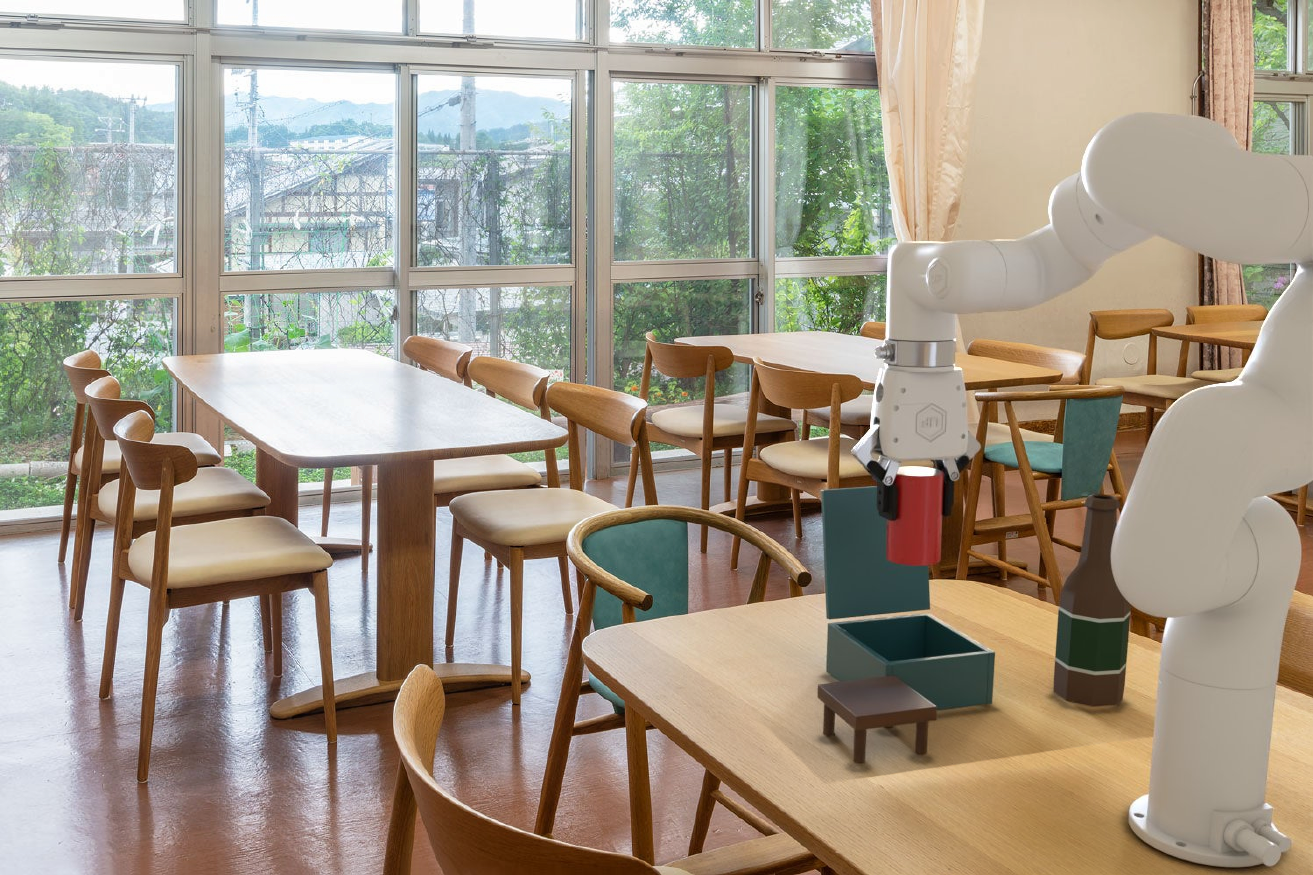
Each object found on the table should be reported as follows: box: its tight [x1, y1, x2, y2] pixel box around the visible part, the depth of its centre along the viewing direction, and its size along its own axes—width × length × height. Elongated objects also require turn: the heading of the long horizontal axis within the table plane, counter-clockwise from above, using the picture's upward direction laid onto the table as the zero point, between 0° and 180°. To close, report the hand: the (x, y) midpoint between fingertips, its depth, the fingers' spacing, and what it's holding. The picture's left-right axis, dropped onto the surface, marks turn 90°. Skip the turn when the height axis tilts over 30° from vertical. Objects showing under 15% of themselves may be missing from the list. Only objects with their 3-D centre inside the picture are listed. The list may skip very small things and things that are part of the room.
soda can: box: [886, 466, 944, 566], centre depth 142 cm, size 6×6×10 cm
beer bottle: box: [1053, 493, 1132, 707], centre depth 144 cm, size 8×8×24 cm
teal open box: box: [825, 612, 996, 712], centre depth 147 cm, size 15×14×7 cm
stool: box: [816, 676, 938, 765], centre depth 131 cm, size 9×9×6 cm
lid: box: [820, 485, 931, 621], centre depth 153 cm, size 15×14×1 cm
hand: (914, 514), depth 142 cm, fingers closed on soda can, 6 cm apart
